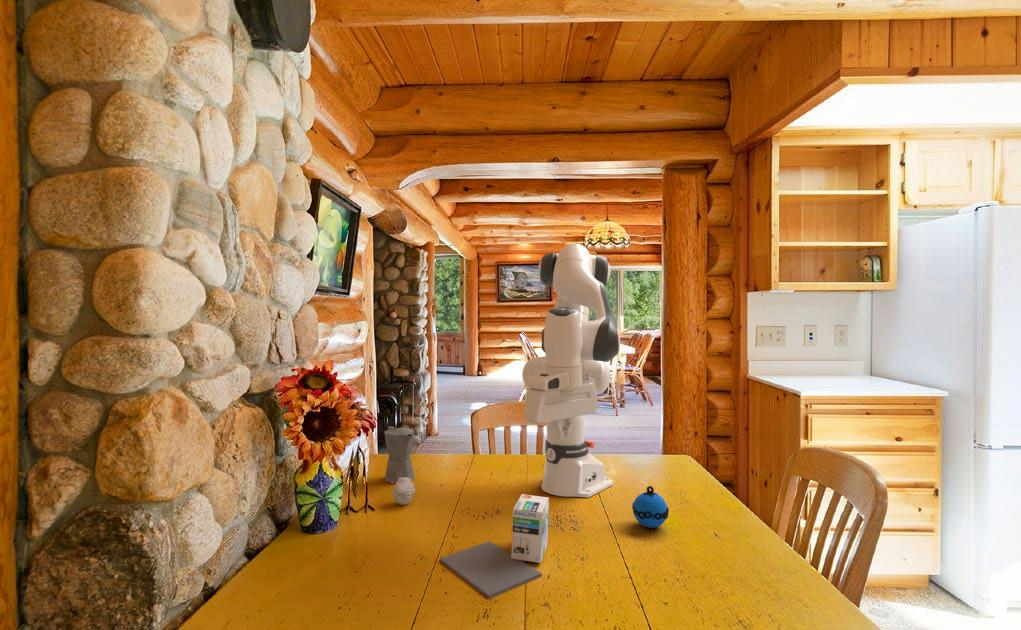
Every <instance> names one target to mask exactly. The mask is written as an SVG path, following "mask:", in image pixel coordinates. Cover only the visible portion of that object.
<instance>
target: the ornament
mask: <svg viewBox="0 0 1021 630" xmlns="http://www.w3.org/2000/svg"><path fill="white" fill-rule="evenodd" d="M654 490H655V488H654V487H653V486H651V485H649V486H647V487H646V491H645V492H642V493H640V494H639V495H637V497H635V499H634V501H633V502H632V507H631V508H632V513H633V515H634V518H635V520H636V521H637V522H638V523H639V524H641V526H643V527H645V528H648V529H649V528H650V529H653V528H659V527H660V526H662V525H663V524H664V523H665V522H666V520H667V519H668V517H669V511H670V510H669V507H668V505H667V503H666V501H665V500H664V498H663V496H661V495H660V494H658V493H657V492H655V491H654Z"/></svg>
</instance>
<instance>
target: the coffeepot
mask: <svg viewBox="0 0 1021 630" xmlns="http://www.w3.org/2000/svg"><path fill="white" fill-rule="evenodd" d="M402 425H403V421H397V422H396V426H397V427H394V426H390V425H386V426H385V427H384V429H383V438H384V444H385V448H386V451H387V454H388V459H387V461H386V462H387V463H386V467H385V468H386V469H385V475H384V479H386V480H385V482H386V481H387V482H386V483H388V482H393V483H396V482H397V481H398V479H399V478H403V477H407V478H411V480H412V479H413V480H414V479H415V473H414V472H415V471H414V467H413V462H412V461H413V460H412V458H411V453H413V445H414V437H415V431H414V429H413V428H407V427H402ZM413 480H412V481H413Z"/></svg>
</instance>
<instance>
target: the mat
mask: <svg viewBox="0 0 1021 630" xmlns="http://www.w3.org/2000/svg"><path fill="white" fill-rule="evenodd" d="M511 554H512V553H509V552H508V551H506V550H505V549H503V548H502V547H500V546H498V545H497V544H495V543H494V542H491V541H489V540H488V541H485V542H484V543H480V544H478V545H475V546H473V547H468V548H466V549H464V550H461V551H457V552H455V553H451V554H449V555H446V556H443V557H440V559H439V560H440V561H439V562H440V563H441V564H443V563H444V564H443V565H444V566H446V567H447V568H449V569H450V570H452V571H453V572H454V573H455V574H457V576H459V577H460V578H461V579H463V580H464V581H466V582H467V583H469V584H470V585H471V586H473V587H474V588H475V589H476V590H478V591H479V592H481V593H482V595H484V596H486V597H487V598H488V599H491V598H494V597H496V596H499V595H500V594H503V593H505V592H508V591H510V590H512V589H515V588H517V587H519V586H521V585H524V584H527V583H528V582H531V581H533V580H536V579H538V578H540V577H542V576H543V575H542V572H540V571H539V570H538V569H535V568H534V567H532V566H531V565H530V564H527V563H526V562H525V561H523V560H516V559H511Z"/></svg>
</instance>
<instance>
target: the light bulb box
mask: <svg viewBox="0 0 1021 630" xmlns="http://www.w3.org/2000/svg"><path fill="white" fill-rule="evenodd" d="M549 508H550V498H549V497H548V496H538V495H532V494H531V495H530V494H526V493H525V494H523V493H522V494H521V495H520V496H519V498H518V500H517V502H516V503H515V505H514V507H513V509H512V533H511V535H512V536H511V553H510V554H511V559H516V560H521V561H523V562H531V563H532V562H533V563H538V564H540V563H542V560H543V558H544V555H545V552H546V549H547V546H548V531H549V530H548V529H549V510H550V509H549Z"/></svg>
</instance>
